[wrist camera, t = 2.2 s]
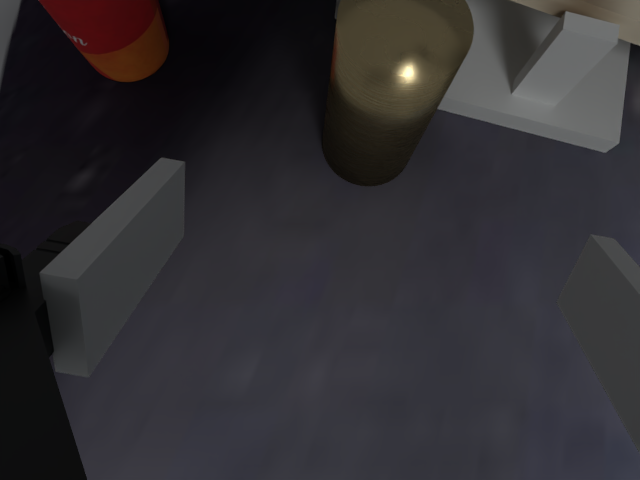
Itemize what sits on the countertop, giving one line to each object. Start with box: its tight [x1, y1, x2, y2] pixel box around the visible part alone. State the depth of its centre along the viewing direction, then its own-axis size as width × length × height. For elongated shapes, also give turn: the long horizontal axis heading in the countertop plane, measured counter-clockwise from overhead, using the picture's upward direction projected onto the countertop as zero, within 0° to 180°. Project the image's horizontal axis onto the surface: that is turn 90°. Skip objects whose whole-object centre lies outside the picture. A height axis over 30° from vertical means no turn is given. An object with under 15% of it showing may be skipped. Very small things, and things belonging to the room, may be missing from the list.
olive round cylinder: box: [322, 0, 474, 186], centre depth 27 cm, size 6×6×12 cm
